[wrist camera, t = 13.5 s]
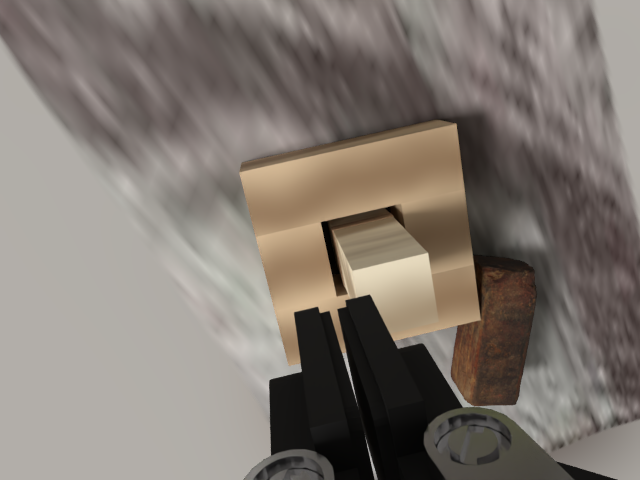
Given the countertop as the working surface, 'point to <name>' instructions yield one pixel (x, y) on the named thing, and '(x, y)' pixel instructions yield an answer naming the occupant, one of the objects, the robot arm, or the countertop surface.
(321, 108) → the countertop surface
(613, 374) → the countertop surface
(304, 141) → the countertop surface
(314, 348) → the robot arm
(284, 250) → the seat board
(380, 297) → the peg
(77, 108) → the countertop surface
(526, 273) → the brick
